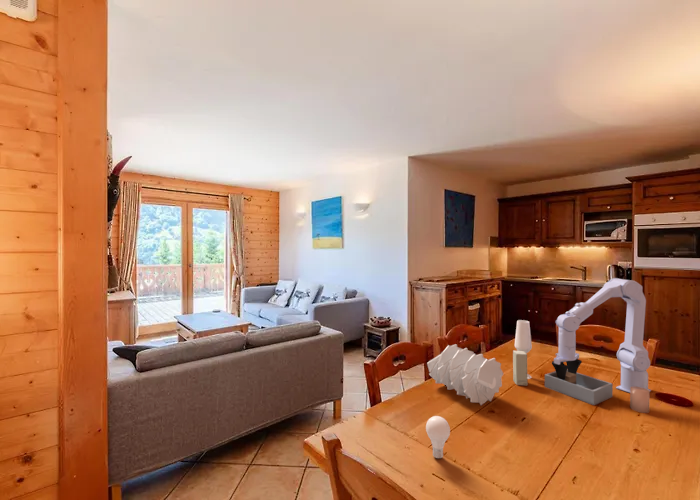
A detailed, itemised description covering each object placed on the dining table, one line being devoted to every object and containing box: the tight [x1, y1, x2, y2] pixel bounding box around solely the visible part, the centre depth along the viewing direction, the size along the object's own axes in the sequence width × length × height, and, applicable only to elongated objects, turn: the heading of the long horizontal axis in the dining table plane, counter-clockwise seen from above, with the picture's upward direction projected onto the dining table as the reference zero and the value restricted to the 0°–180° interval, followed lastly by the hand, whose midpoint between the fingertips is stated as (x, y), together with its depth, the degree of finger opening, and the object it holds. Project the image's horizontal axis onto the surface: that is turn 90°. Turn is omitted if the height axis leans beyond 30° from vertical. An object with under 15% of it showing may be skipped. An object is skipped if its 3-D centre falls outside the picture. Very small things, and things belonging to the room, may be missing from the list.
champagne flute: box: [514, 319, 533, 380], centre depth 145 cm, size 7×7×24 cm
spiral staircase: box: [426, 343, 504, 406], centre depth 127 cm, size 18×18×25 cm
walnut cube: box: [556, 372, 576, 384], centre depth 133 cm, size 5×5×5 cm
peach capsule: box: [629, 386, 650, 414], centre depth 115 cm, size 5×5×7 cm
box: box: [512, 350, 528, 386], centre depth 137 cm, size 5×4×13 cm
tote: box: [544, 369, 614, 406], centre depth 129 cm, size 14×18×5 cm
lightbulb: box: [425, 415, 451, 459], centre depth 90 cm, size 6×6×11 cm
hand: (566, 378), depth 133 cm, fingers open, 7 cm apart
